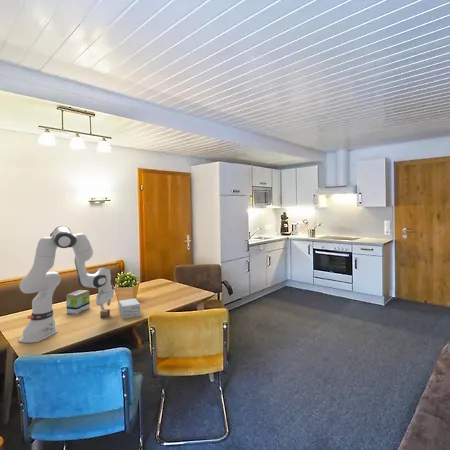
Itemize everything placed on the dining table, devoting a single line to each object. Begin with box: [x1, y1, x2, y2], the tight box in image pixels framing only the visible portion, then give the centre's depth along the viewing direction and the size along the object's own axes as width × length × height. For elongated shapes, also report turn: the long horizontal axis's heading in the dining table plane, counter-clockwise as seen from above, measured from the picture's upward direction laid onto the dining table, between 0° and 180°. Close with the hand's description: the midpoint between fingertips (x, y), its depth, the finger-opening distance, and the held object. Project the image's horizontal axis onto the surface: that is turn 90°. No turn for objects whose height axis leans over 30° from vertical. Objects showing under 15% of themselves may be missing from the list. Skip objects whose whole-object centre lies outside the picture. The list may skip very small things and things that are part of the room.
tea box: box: [65, 289, 91, 315], centre depth 237 cm, size 15×10×15 cm
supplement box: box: [118, 298, 141, 319], centre depth 228 cm, size 17×13×9 cm
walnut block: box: [99, 308, 111, 319], centre depth 223 cm, size 5×5×5 cm
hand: (105, 307), depth 221 cm, fingers open, 8 cm apart
